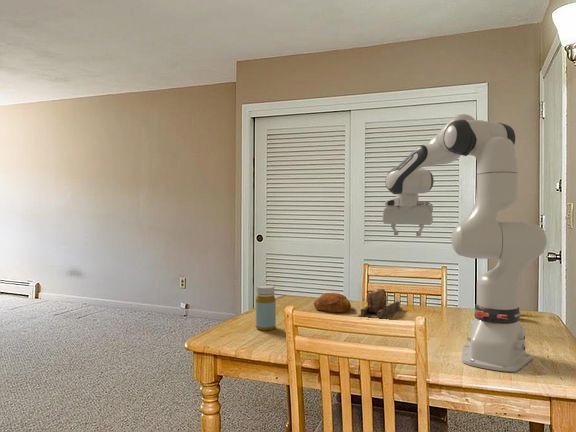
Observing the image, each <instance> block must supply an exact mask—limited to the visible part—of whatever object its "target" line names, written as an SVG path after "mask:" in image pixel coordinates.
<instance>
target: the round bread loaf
mask: <svg viewBox="0 0 576 432" xmlns="http://www.w3.org/2000/svg"><path fill="white" fill-rule="evenodd" d="M313 306H314V308H315V309H316V310H317V311H320V312H321V311H323V312H328V313H329V312H330V313H347V312H349V311H350V310H351V308H352V304H351V302H350V301H349V299H348V298H347V297H346V296H345V295H343V294H341V293H336V292H326V293H323V294H321V296H318V297H317V298H316V299H315V300H314V302H313Z"/></svg>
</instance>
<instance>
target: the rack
mask: <svg viewBox="0 0 576 432" xmlns="http://www.w3.org/2000/svg"><path fill="white" fill-rule="evenodd" d="M402 311H403V307H401V302H400V301H398V300H397V301H394V302H392V303H391V304H389V305H386V307H385V308H383V309H381V310H379V311H377V313H371V312H369V310H368V305H367V306H365V307H363V308H361V309H360V314H358V316H357V317H368V318H379V319H386V320H388V319H390V318H391V317H393V316H395V315H397V314H398V313H400V312H402Z"/></svg>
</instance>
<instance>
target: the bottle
mask: <svg viewBox="0 0 576 432" xmlns="http://www.w3.org/2000/svg"><path fill="white" fill-rule="evenodd" d="M276 307H277V306H276V298H275V286H274V285H271V284H263V285H262V284H261V285H257V286H256V298H255V328H256V329H257V330H259V331H265V332H266V331H273V330H274V329H275V328H276V324H277V323H276V321H277V319H276V315H277V314H276V311H277V310H276Z"/></svg>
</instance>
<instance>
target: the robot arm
mask: <svg viewBox="0 0 576 432" xmlns="http://www.w3.org/2000/svg"><path fill="white" fill-rule="evenodd" d="M515 143H516V133H515V130H514V129H513V127H512V126H510V125H509V124H505V123H502V122H494V121H493V122H492V121H486V120H483V119H482V120H480V119H475V118H474V117H473V116H471V115H470V114H466V113H462V114H457V115H455V116H454V117H452V118H451V119H450V120H448V122H446V124H444V125H443V127H441V129H440V130H439V131H438V133H437V134H435V136H434V137H432V138H431V139H430V140H428V141H426V142H424V144H422V145H420V146H418V147H417V148H415V149H414V150H413V151H412V152H411V153H410V154H409V155H407V157H406V158H404V160H402V161H401V162H400V163H399V164H398V165H397V166H396V167H393V168H391V169H390V170H389V171H388V173H387V174H386V178H385V181H384V182H385V186H386V188H387V190H388V191H389V192H390V193H391V194H393V195H395V197H394V198H392V199H388V200H385V201H384V205H385V207H384V208H383V211H382V222H383V224H385V225H390V227H391V229H392V231H393V235H394V236H399V233H400V232H399V230H397V229H396V227H397V225H413V226H414V225H418V228H419V230H418V231H416V232H415V233H416V237H421V236H422V231H423V229H424V227H425V226H430V225H432V224H433V223H434V218H433V210H434V205H433V204H432V203H431V202H430V201H419V194H426V193H428V192H430V191H431V190H432V188H433V187H434V183H435V182H434V176H433V173H432V172H431V171H430V170H428V169H426V168H425V167H431V166H437V165H446V164H450V163H454V162H455V161H456V160H458V159H459V158H460V157H462V156H463V157H467V156H473V157H474V158H475V160H476V194H475V201H474V204H473V207H472V209H471V211H470V213H469V214H468V215H467V217H466V218H465V219H463V220H462V221H461V222H460V223H458V224H457V225H456V226H455V227H454V229H453V230H452V233H451V235H450V241H451V242H450V243H451V247H452V249H453V251H454V252H455V253H456V255H458V256H461V257H465V258H471V259H478V260H480V259H482V260H483V259H484V260H485V259H486V260H488V259H489V260H491V259H493V260H495V259H496V260H498V262H497V264H496V265H495V266H494V267H493V268H492V269H490V270H488V271H485V272H483V273H482V274H481V275H480V276H479V277H478V278H477V281H476V304H475V306H474V319H472V320H471V321H470V336H468V337H467V341H468V342H470V343H465V344H463V345H462V354H461V355H462V356H461V357H462V358H461V359H462V363H463V364H465V365H469V366H472V367H476V368H481V369H487V370H492V371H497V372H498V371H500V372H510V373H511V372H514V373H515V372H518V371H519V370H521V369H522V368H523V367H524V366H525V365H527V364H528V363H529V362H530V361H532V360H533V359H534V357H533V354H531V353H529V352H527V351H526V349H527V348H526V329H525V327H524V326H523V325H522V324H521V322H520V318H521V317H520V316H521V315H520V314H521V312H520V307H519V290H520V281H521V278H522V276H523V273H524V272H525V271H526V269H527V267H528V266H529V265H530V264H531V263H532V262H533V261H534V260H536V259H537V258H538V257H540V256H541V255H542V254H543V253H544V251H545V250H546V247H547V235H546V233H545V231H544V229H543V227H541V226H540V225H539V224H536V223H531V222H525V221H497V217H498V216H497V215H498V214H499V213H500V212H501V211H505V210H506V209H508V208H510V207H512V206H513V205H514V204H515V203H516V202H517V201H518V198H519V177H518V176H519V172H518V171H519V170H518V169H519V167H518V160H517V152H516V149H515Z"/></svg>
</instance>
